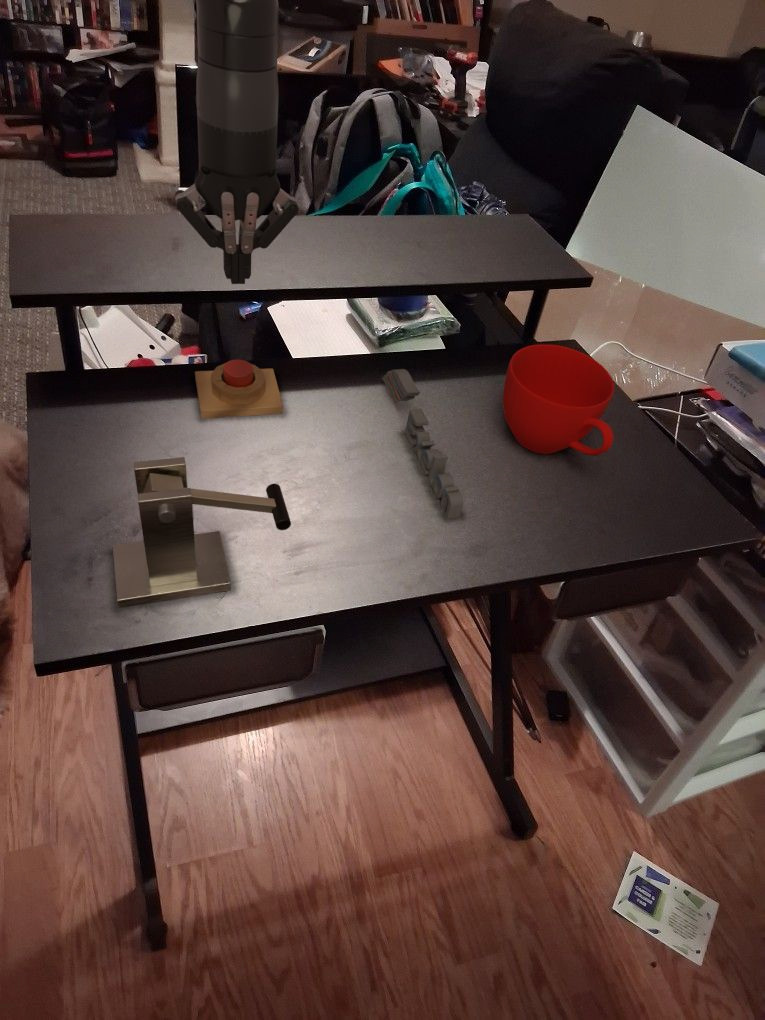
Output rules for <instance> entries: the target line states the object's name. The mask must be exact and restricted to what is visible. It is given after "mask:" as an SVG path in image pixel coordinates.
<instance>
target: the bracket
mask: <svg viewBox="0 0 765 1020" xmlns="http://www.w3.org/2000/svg"><path fill="white" fill-rule="evenodd" d="M186 462H187V461H186V457H185V456H181V457H179V456H178V457H169V458H161V459H160V458H159V459H149V460H140V461H133V462H132V463H133V472H134V479H135V485H136V492H137V494H136V496H137V503H138V505H137V506H138V512H139V518H140V525H141V534H142V538H143V540H139V541H131V542H130V541H129V542H123V543H115V544H112V557H113V569H114V577H115V578H114V579H115V581H114V582H115V591H116V592H115V593H116V601H117V606H118V608H119V609H121V608H126V607H127V608H128V607H133V606H140V605H147V604H152V603H159V602H166V601H172V600H179V599H184V598H190V597H197V596H198V597H199V596H203V595H204V596H205V595H210V594H215V593H216V594H217V593H222V592H228V591H232V581H231V576H230V572H229V567H228V563H227V562H228V561H227V557H226V554H225V549H224V544H223V540H222V534H221V531H220V530H214V531H207V532H206V531H205V532H199V533H195V522H194V508H193V504H192V494H191V489H192V488H191V487H189V486H188V475H187V474H188V473H187V463H186ZM150 473H154V474H162V475H169V476H177V477H181V478H182V483H183V488H184V489H175V490H167V491H158V492H149V493H143V491H144V488H145V486H146V483H147V480H148V477H149V474H150ZM190 488H191V489H190Z"/></svg>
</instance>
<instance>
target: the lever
mask: <svg viewBox="0 0 765 1020" xmlns="http://www.w3.org/2000/svg"><path fill="white" fill-rule="evenodd" d="M189 488H190V489H191V494H192V505H195V506H205V507H212V508H222V509H230V510H239V511H241V510H242V511H249V512H256V513H265V514H266V513H267V514H272V518H273V520H274V525H275V527H276V529H277V530H278V531H286V530H288V529H289V528H290V527H291V525H292V521H291V518H290V515H289V511H288V508H287V505H286V501H285V498H284V494H283V491H282V488H281V486H280V485H279V484H278V483H271V484H269V485H267V486H266V488H265V492H266V497H263V496H256V495H247V494H239V493H232V492H224V491H215V490H206V489H197V488H191V487H189ZM175 489H184V488H183V483H182V478H181V477H177V476H169V475H162V474H154V473H150V474H149V477H148V480H147V483H146V486H145V488H144V491H143V493H149V492H158V491H167V490H175Z"/></svg>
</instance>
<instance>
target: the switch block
mask: <svg viewBox="0 0 765 1020" xmlns="http://www.w3.org/2000/svg"><path fill="white" fill-rule="evenodd" d="M250 364H251V365H252V366H253V382H252V384H251V385H249V386H247V387H233V386H229V385H227V384H226V383H225V382H224V371H223V367H224V365H225V363H222V364H220V365H217V366H216V367H215V369H213V370H197V371H196V370H195V371H194V380H195V386H196V387H195V388H196V393H197V400H198V408H199V413H200V418H201V419H213V418H214V419H215V418H231V417H250V416H266V415H267V416H268V415H270V416H271V415H282V414H284V405H283V401H282V396H281V393H280V389H279V386H278V382H277V377H276V375H275V370H274V368H260V367H258V365H257V366H256V364H253V363H250Z"/></svg>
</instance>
